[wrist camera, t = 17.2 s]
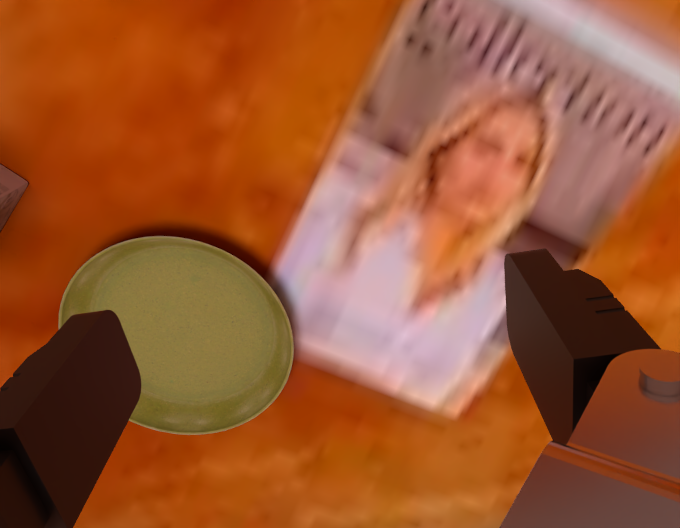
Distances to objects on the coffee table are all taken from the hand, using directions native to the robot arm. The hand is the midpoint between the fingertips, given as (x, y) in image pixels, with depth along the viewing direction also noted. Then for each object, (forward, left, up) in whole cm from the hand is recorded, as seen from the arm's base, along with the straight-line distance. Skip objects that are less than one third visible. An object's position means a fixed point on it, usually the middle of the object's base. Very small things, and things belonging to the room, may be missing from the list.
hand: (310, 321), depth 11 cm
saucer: (+18, +19, -35) cm, 44 cm away
